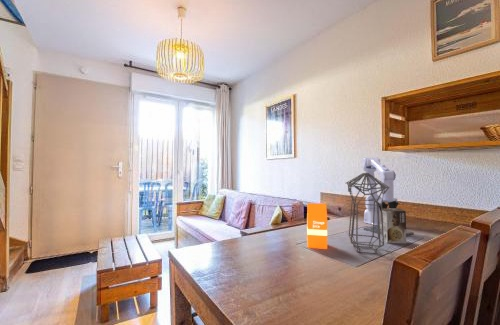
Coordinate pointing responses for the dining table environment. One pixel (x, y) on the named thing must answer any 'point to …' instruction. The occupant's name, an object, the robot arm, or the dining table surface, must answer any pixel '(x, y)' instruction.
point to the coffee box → (394, 225)
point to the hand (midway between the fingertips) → (387, 214)
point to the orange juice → (316, 226)
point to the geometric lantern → (366, 204)
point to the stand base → (381, 230)
